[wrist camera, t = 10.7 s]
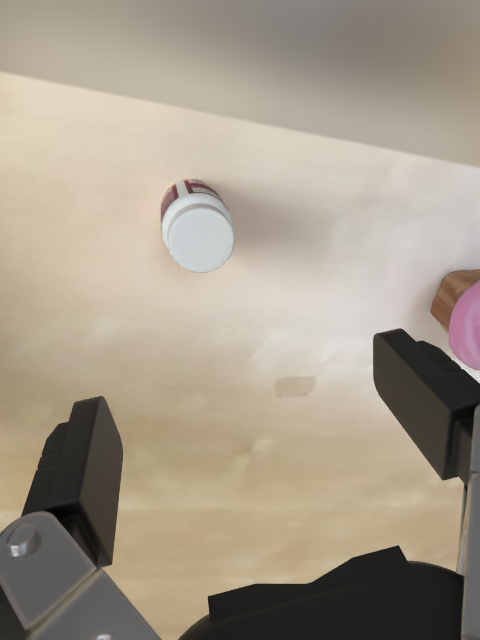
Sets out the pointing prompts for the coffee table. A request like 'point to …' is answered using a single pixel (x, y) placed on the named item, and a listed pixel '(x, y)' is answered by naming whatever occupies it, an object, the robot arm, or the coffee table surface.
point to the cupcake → (460, 314)
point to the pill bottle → (196, 226)
